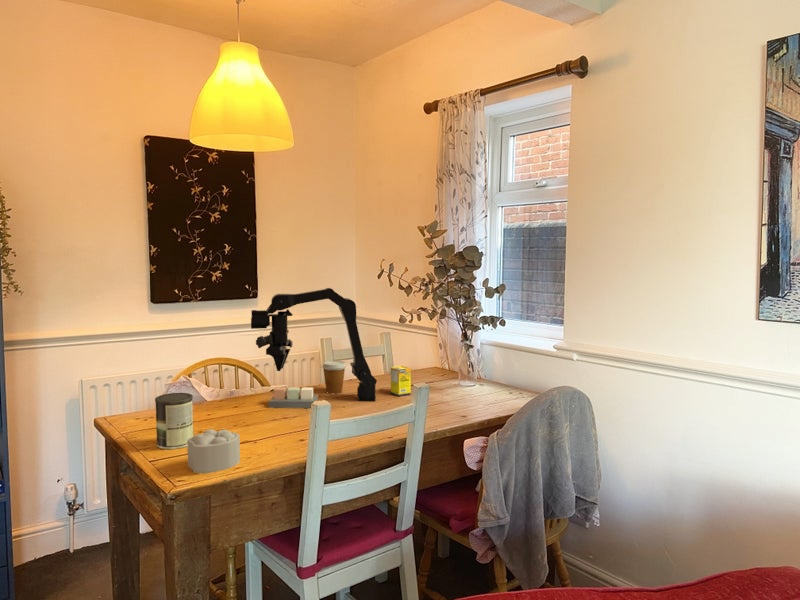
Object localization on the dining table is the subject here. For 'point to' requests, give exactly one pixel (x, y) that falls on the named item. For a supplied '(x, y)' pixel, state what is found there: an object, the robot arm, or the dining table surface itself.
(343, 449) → the dining table surface
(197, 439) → the lumpy-topped squat cylinder
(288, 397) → the key mid
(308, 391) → the cream white cube
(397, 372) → the supplement box
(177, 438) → the coffee can
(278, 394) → the pink cube
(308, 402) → the keypad base
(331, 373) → the disposable coffee cup
